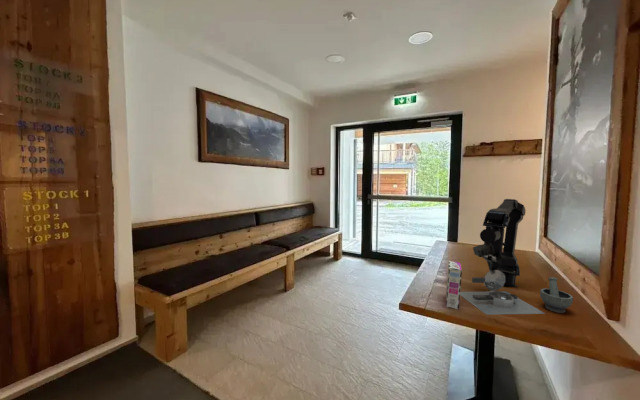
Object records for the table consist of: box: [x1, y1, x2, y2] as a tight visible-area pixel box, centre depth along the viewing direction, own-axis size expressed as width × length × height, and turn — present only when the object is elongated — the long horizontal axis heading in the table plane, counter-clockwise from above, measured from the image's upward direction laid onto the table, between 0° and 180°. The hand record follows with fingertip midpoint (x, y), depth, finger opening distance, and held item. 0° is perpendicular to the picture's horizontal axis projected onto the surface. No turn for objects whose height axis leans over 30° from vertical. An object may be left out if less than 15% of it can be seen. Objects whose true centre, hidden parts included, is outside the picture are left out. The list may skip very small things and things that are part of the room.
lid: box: [471, 269, 505, 291], centre depth 114 cm, size 14×9×2 cm
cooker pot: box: [473, 290, 519, 308], centre depth 111 cm, size 18×9×3 cm, turn 94°
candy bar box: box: [445, 260, 463, 310], centre depth 110 cm, size 11×5×16 cm, turn 155°
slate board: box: [460, 290, 546, 316], centre depth 112 cm, size 24×20×1 cm
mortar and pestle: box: [539, 276, 574, 314], centre depth 107 cm, size 11×9×12 cm
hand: (491, 274), depth 116 cm, fingers closed
